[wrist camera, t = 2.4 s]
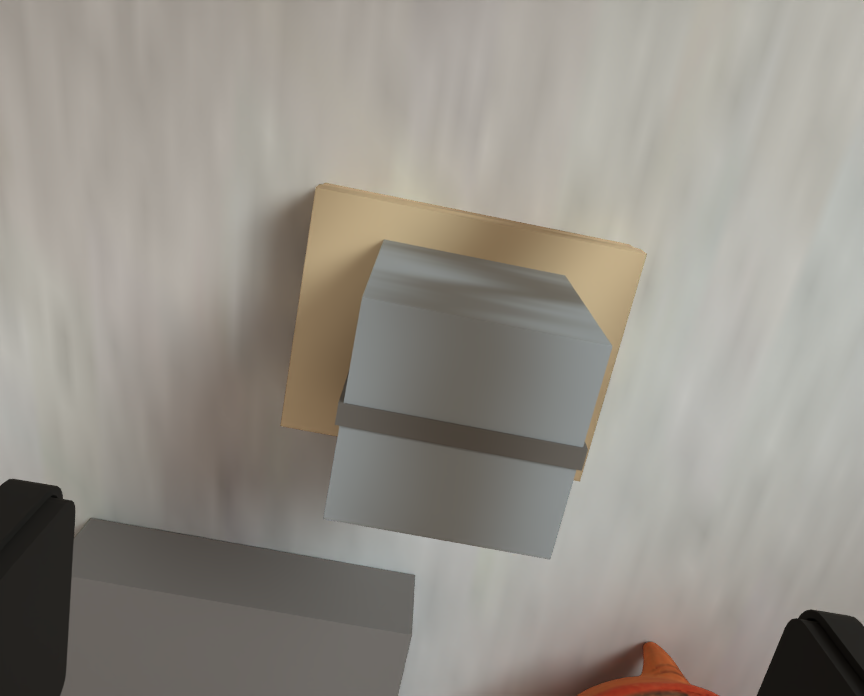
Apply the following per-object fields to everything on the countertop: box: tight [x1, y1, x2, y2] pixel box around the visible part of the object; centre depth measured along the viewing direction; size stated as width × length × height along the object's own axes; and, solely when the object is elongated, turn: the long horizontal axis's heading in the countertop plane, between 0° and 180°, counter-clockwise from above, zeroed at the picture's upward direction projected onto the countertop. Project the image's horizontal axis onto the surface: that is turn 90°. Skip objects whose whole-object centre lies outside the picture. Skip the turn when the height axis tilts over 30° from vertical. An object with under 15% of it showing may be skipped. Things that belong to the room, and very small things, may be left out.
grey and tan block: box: [280, 183, 647, 559], centre depth 19 cm, size 9×7×8 cm
